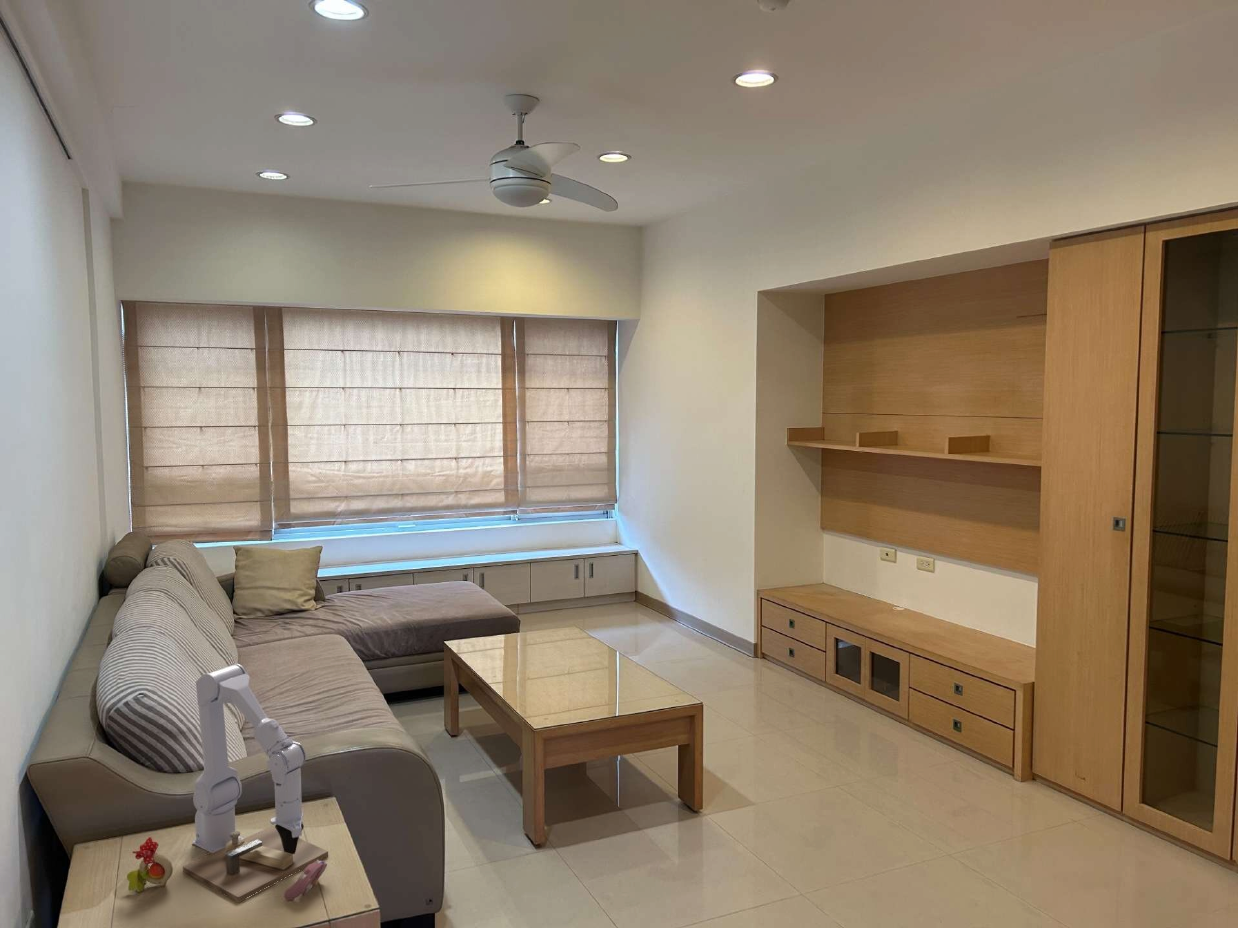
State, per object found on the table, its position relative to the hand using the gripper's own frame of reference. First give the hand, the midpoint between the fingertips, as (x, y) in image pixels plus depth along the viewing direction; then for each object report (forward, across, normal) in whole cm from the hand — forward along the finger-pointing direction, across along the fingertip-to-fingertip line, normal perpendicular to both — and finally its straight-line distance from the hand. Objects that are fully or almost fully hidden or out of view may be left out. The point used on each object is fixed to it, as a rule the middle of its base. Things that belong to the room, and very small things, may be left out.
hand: (290, 853), depth 204 cm
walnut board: (+3, -5, -6) cm, 8 cm away
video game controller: (+3, +13, 0) cm, 13 cm away
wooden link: (+1, -4, -6) cm, 7 cm away
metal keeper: (+1, -3, -9) cm, 10 cm away
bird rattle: (+3, -9, -28) cm, 29 cm away
